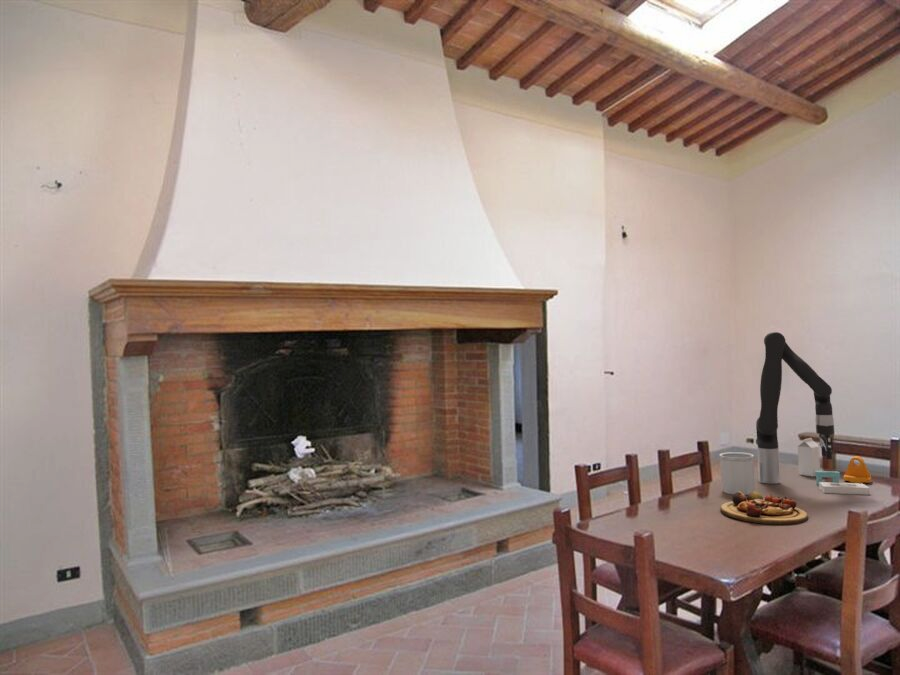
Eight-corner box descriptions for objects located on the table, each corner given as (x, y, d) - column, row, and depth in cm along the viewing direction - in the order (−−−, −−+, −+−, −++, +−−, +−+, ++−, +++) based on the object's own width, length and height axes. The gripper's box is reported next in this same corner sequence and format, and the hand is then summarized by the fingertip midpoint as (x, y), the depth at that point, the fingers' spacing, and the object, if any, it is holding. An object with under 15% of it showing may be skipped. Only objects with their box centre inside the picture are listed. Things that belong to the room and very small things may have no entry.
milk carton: (820, 475, 316) (818, 438, 317) (812, 477, 313) (811, 440, 313) (806, 473, 323) (805, 437, 323) (798, 474, 319) (797, 438, 319)
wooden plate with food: (780, 531, 228) (780, 509, 228) (704, 512, 255) (704, 493, 255) (823, 517, 245) (823, 497, 246) (747, 501, 272) (747, 483, 272)
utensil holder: (722, 494, 283) (721, 457, 284) (719, 487, 297) (717, 451, 298) (757, 496, 279) (756, 457, 279) (752, 488, 293) (751, 452, 293)
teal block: (816, 485, 295) (816, 472, 295) (815, 483, 298) (814, 470, 298) (840, 486, 292) (839, 472, 292) (838, 484, 295) (838, 471, 295)
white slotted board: (823, 492, 280) (823, 486, 280) (819, 488, 289) (818, 482, 289) (869, 494, 274) (869, 487, 274) (863, 490, 283) (863, 483, 283)
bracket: (843, 482, 300) (842, 457, 301) (845, 479, 306) (844, 455, 306) (869, 484, 293) (868, 459, 294) (871, 481, 299) (870, 457, 299)
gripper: (812, 422, 304) (814, 454, 303) (819, 425, 290) (821, 459, 290) (829, 422, 301) (831, 454, 301) (837, 425, 288) (839, 460, 287)
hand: (826, 457), depth 295 cm, fingers open, 8 cm apart
